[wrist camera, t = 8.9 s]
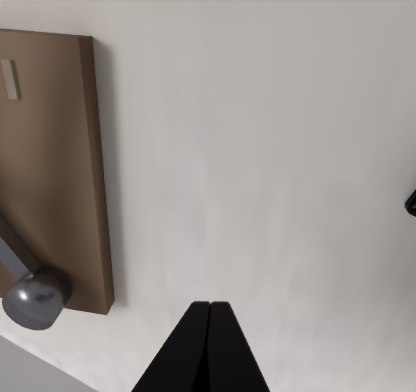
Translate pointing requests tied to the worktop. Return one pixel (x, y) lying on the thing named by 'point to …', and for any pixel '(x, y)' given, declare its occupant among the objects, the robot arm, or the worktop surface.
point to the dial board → (54, 162)
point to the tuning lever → (31, 285)
